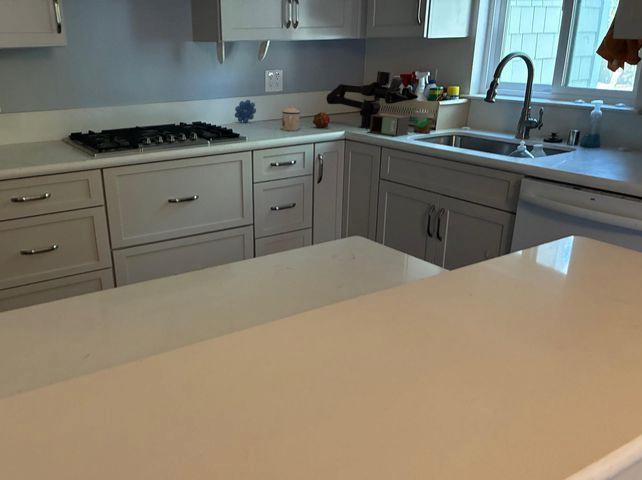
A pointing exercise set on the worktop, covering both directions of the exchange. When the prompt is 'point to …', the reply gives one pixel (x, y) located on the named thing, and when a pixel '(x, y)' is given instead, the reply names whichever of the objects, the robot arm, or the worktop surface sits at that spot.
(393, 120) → the sliding door
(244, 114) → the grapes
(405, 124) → the cabinet
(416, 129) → the food container
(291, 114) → the teacup with lid
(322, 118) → the dragon fruit
